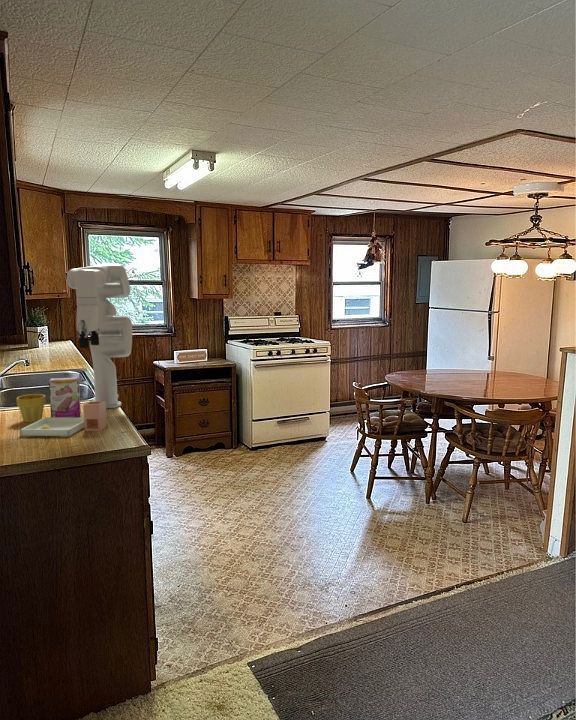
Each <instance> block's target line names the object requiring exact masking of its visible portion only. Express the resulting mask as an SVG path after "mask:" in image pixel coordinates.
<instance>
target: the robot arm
mask: <svg viewBox="0 0 576 720" xmlns="http://www.w3.org/2000/svg"><path fill="white" fill-rule="evenodd" d="M66 284H67V286H68V287H69V288H70V289H73V290H75V294H76V299H75V300H76V306H77V308H76V331H77V334H78V338H79V348H80V349H89V348H90V349H89V350H90V354H91V359H92V366H93V382H94V383H93V384H94V401H106V410H108V408H109V409H115V408H118V406H119V407H121V406H122V402H121V401H118V398H119V396H120V395H119V394H118V383H117V381H118V379H117V367H116V365H115V363H114V362H113V361H112V359H111V358H126V357H129V356H130V355H131V353H132V347H133V345H132V344H133V323H132V319H131V318H130V317H129V316H125V315H117V308H116V307H115V305H114V304H113V303H112V302H111V301H110V300H108V299H125V298H128V297H129V296H130V295H131V285H130V281H129V277H128V273H127V271H126V268H125V267H124V266H123V265H122V264H120V263H97V264H95V265H91V266H85V267H78V268H71V269H69V270H68V272H67V274H66ZM89 333H90V335H89ZM88 335H89V336H90V338H89V337H88ZM89 339H90V341H89Z"/></svg>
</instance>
